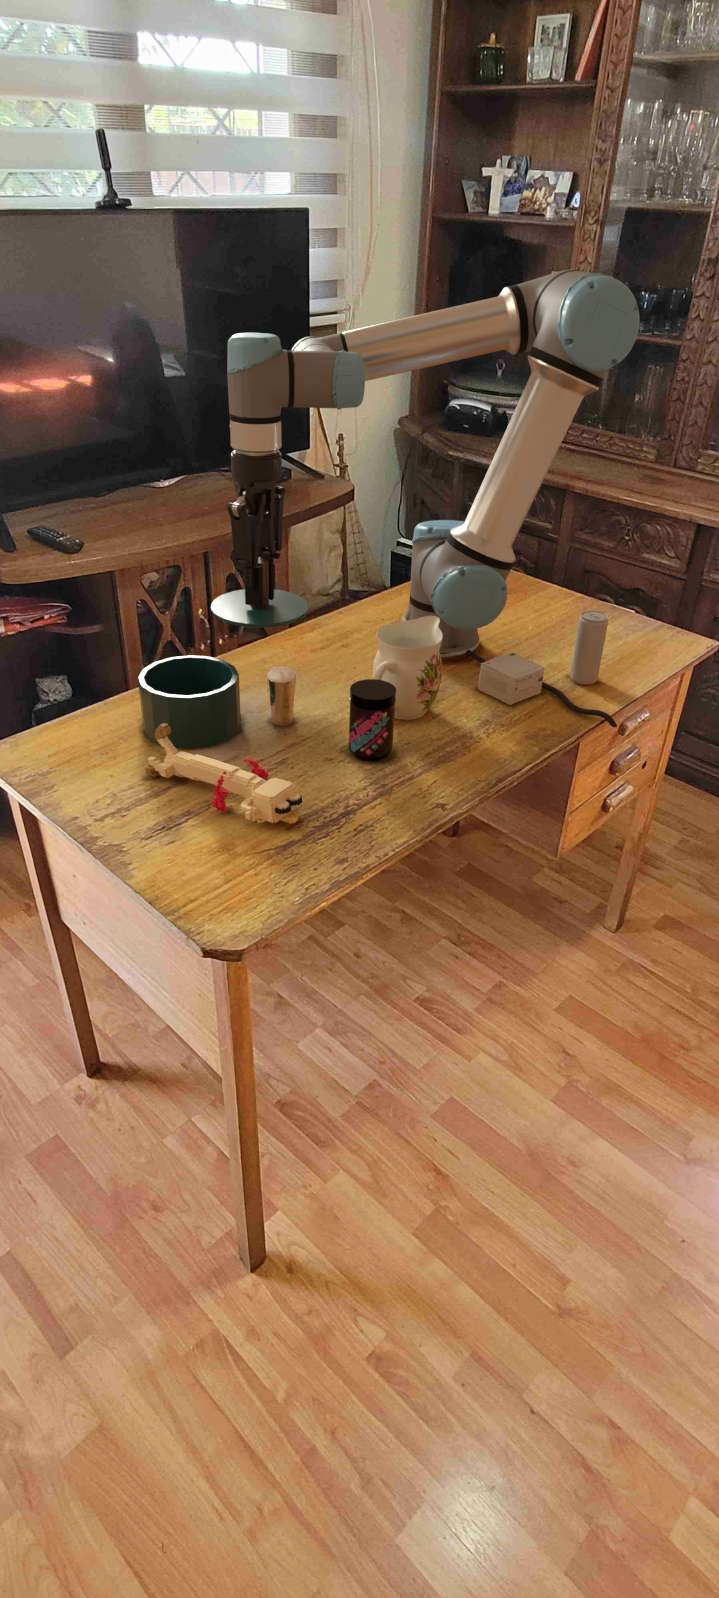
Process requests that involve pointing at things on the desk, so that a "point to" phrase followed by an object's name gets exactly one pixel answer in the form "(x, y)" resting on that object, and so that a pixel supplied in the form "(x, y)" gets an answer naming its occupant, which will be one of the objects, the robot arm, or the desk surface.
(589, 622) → the beverage can
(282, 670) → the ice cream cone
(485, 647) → the desk surface
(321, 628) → the desk surface
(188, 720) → the tin
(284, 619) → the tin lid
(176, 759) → the blocky axolotl figure
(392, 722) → the supplement container
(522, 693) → the small box
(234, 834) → the desk surface
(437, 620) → the pitcher
